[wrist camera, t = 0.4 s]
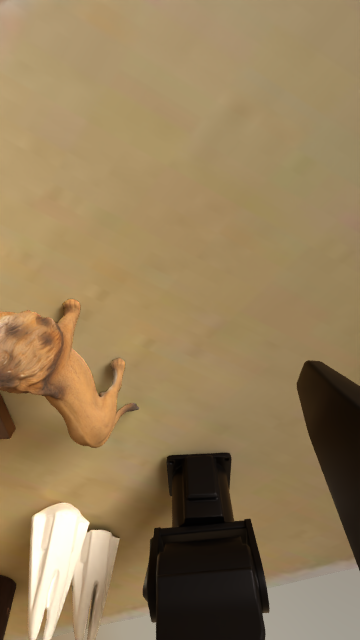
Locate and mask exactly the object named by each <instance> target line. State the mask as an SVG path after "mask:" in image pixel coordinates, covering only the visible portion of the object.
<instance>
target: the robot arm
mask: <svg viewBox="0 0 360 640" xmlns="http://www.w3.org/2000/svg"><path fill="white" fill-rule="evenodd" d="M297 391H298V395H299V398H300V402H301V406H302V410H303V414H304V418H305V422H306V426H307V430H308V433H309V436H310V439H311V442H312V445H313V447H314V450H315V453H316V455H317V458H318V461H319V463H320V466H321V469H322V471H323V474H324V477H325V479H326V482H327V485H328V487H329V490H330V493H331V495H332V498H333V501H334V503H335V506H336V509H337V511H338V514H339V517H340V519H341V522H342V525H343V527H344V530H345V533H346V535H347V538H348V541H349V543H350V546H351V549H352V551H353V554H354V557H355V559H356V562H357V565H358V567H359V570H360V386H359V385H357V384H356V383H354V382H352V381H351V380H349V379H348V378H346V377H344V376H343V375H341V374H340V373H338V372H337V371H335V370H333V369H332V368H330V367H329V366H327V365H325V364H324V363H322V362H320V361H310V360H308V361H306V362H305V363H304V365H303V368H302V371H301V373H300V376H299V379H298V382H297ZM230 471H231V455H230V454H229V453H211V454H191V455H171V456H168V457H167V472H168V482H169V493H170V496H172V528H162V529H161V528H154V536H153V538H152V539H150V556H149V563H148V568H147V572H146V577H145V581H144V585H143V597H144V598H145V599H146V601H147V602H148V606H149V610H150V617H151V621H152V622H156V640H265V627H264V621H263V616H262V613H269V601H268V593H267V587H266V581H265V576H264V571H263V567H262V562H261V558H260V554H259V551H258V547H257V543H256V539H255V535H254V531H253V527H252V523H251V519H244V521H234V518H233V512H232V506H231V500H230V494H229V486H230Z"/></svg>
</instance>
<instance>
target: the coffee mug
mask: <svg viewBox="0 0 360 640" xmlns="http://www.w3.org/2000/svg"><path fill="white" fill-rule="evenodd" d="M15 589H16V583H15V582H14V581H13V580H12V579H10V578H8V577H5V576H2V575H0V640H3V639H4V635H5V631H6V627H7V622H8V618H9V614H10V610H11V606H12V602H13V598H14V593H15Z"/></svg>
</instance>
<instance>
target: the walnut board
mask: <svg viewBox="0 0 360 640" xmlns="http://www.w3.org/2000/svg"><path fill="white" fill-rule="evenodd" d="M15 429H16V428H15V426H14V423H13V421H12V419H11V417H10V414H9V412H8V410H7V407H6V405H5V403H4V400H3V398H2V396H1V394H0V439H10V438H11V437H12V435H13V433H14V431H15Z"/></svg>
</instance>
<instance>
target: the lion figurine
mask: <svg viewBox="0 0 360 640" xmlns="http://www.w3.org/2000/svg"><path fill="white" fill-rule="evenodd" d="M63 307H64V317H62V318H61V319H60V320H59V322H58V323H56V322H54V320H52V318H49V317H48V318H42V317H41V316H40V315H38V313H36V312H31V311H29V310H27V311H24V312H21V313H13V312H0V390H2V391H7V392H9V393H17V394H19V393H31V394H36V395H42V396H45V398H46V399H47V400H48V401H49V402H50V404H51V405H52V406H54V407H55V408H56V409H57V410H58V411H59V413H60V414H61V415H62V417H63V418H64V420H65V422H66V425H67V428H68V432H69V435H70V437H71V438H72V439H73V440H74V441H75V442H76V443H78V444H80V445H83V446H90V447H92V448H97V447H100V446H102V445H103V444H104V443H105V442H106V441H107V439H108V438H109V436H110V434H111V432H112V430H113V428H114V426H115V424H116V422H117V421H118V419H119V418H120V416H121V415H122V414H124V413H125V412H128V411H134V410H138V409H139V407H138V406H137V405H136V404H135V403H130V404H127V405H125V406H123V407H122V408H121V409H119V410H118V411H117V412H116V408H117V395H118V392H119V390H120V389H121V385H122V376H123V372H124V369H125V362H124V360H122V359H120V358H117V359H114V360H112V361H111V369H112V371H113V382H112V385H111V387H110V388H109V389H108V390H107V391H106V392H101V393H100V394H99V395H98V393H97V391H96V388H95V383H94V380H93V376H92V373H91V371H90V369H89V367H88V365H87V364H86V362H85V361H84V360H83V358H82V357H81V356H80V355H79V354H78V353H77V352H76V351H74V350H73V349H72V343H73V334H74V330H75V326H76V322H77V320H78V317H79V314H80V308H81V306H80V303H79V302H78V301H76V300H74V299H68V300H67V301H66V302H64V303H63Z"/></svg>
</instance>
